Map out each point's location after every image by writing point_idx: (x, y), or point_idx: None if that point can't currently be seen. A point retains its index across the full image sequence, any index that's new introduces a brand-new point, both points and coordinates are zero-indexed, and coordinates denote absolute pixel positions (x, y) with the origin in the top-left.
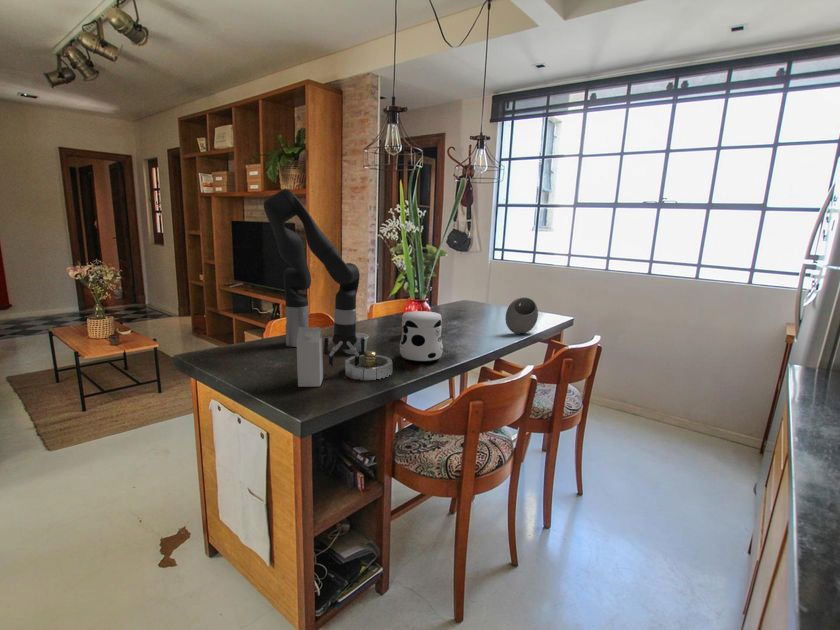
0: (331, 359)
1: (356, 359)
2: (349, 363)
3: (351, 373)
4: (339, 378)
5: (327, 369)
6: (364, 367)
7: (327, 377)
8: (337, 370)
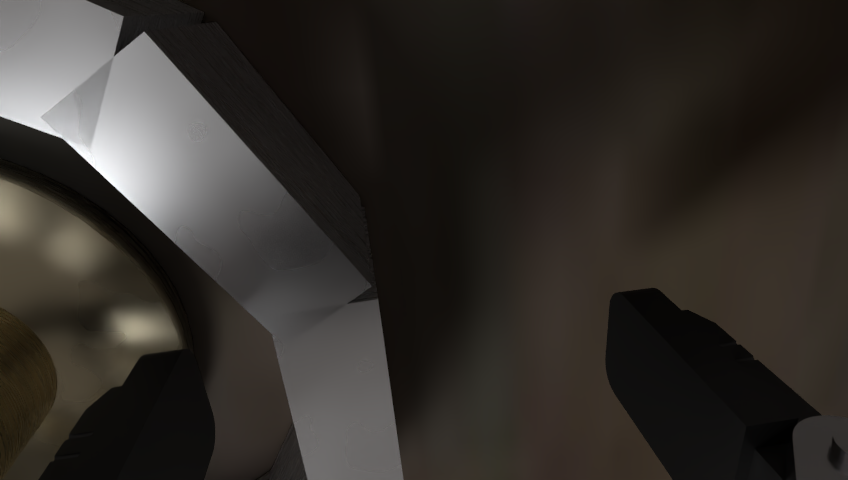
0: (730, 366)
1: (89, 466)
2: (283, 339)
3: (202, 37)
4: (444, 29)
5: None
6: (13, 380)
7: (636, 80)
8: (496, 370)
